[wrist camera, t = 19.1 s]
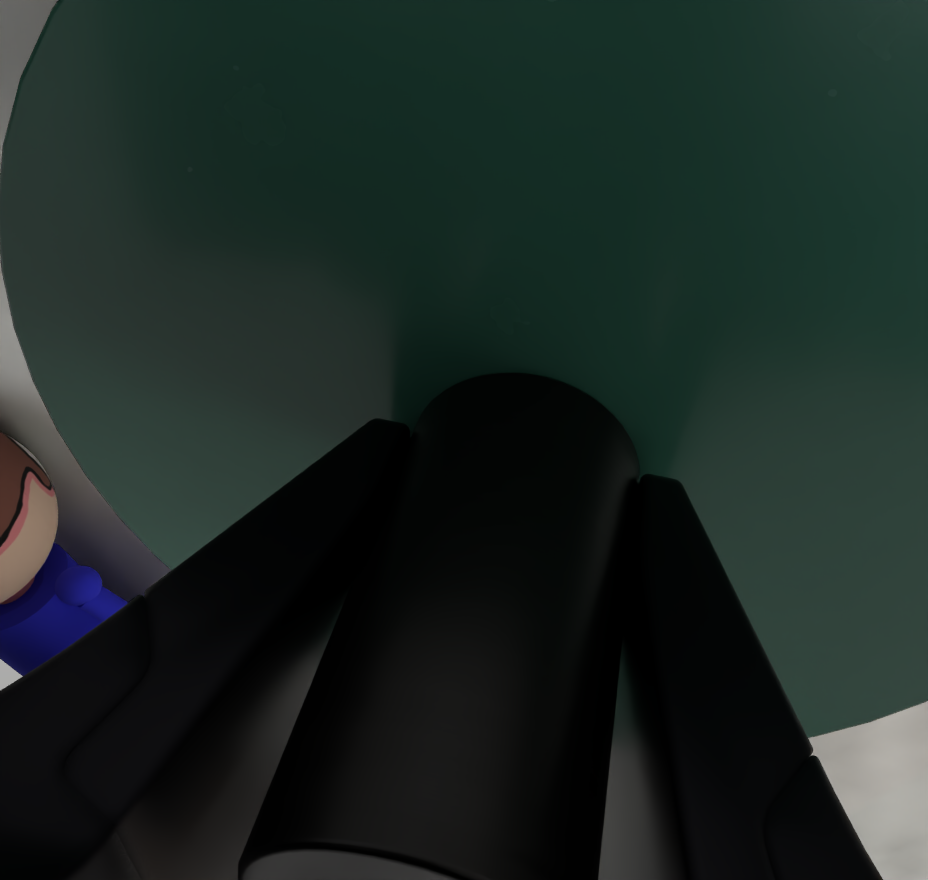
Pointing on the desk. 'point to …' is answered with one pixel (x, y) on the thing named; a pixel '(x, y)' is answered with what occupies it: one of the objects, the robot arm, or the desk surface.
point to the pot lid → (495, 359)
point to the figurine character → (40, 569)
